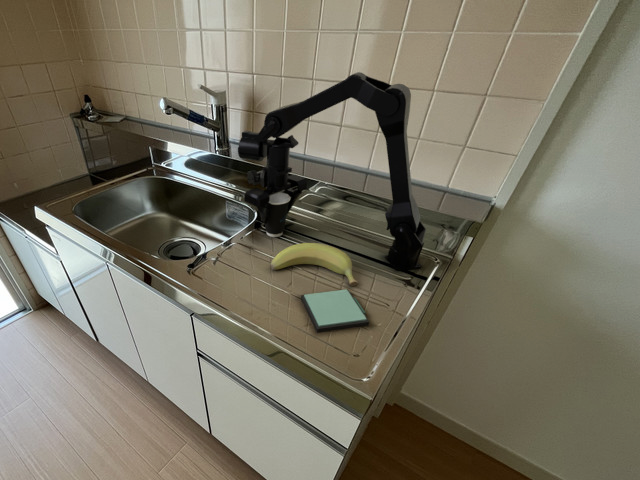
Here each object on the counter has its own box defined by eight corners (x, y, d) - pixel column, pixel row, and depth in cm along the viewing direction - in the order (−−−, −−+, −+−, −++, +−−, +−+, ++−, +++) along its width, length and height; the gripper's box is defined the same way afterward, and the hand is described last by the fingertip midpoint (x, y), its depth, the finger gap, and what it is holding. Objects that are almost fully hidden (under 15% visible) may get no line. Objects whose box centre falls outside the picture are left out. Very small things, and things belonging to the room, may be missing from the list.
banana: (301, 226, 87) (371, 262, 78) (301, 241, 92) (367, 276, 83) (267, 258, 83) (337, 300, 74) (268, 272, 87) (335, 313, 78)
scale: (349, 292, 78) (350, 287, 77) (370, 325, 69) (372, 320, 68) (300, 299, 76) (301, 293, 75) (316, 333, 68) (317, 327, 67)
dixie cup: (260, 227, 103) (260, 192, 96) (286, 226, 103) (288, 191, 96) (262, 240, 97) (262, 204, 90) (289, 239, 97) (292, 202, 90)
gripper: (281, 149, 97) (279, 201, 106) (230, 164, 88) (232, 219, 98) (311, 158, 90) (305, 212, 100) (258, 175, 81) (258, 233, 91)
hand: (275, 219), depth 97 cm, fingers closed on dixie cup, 8 cm apart
